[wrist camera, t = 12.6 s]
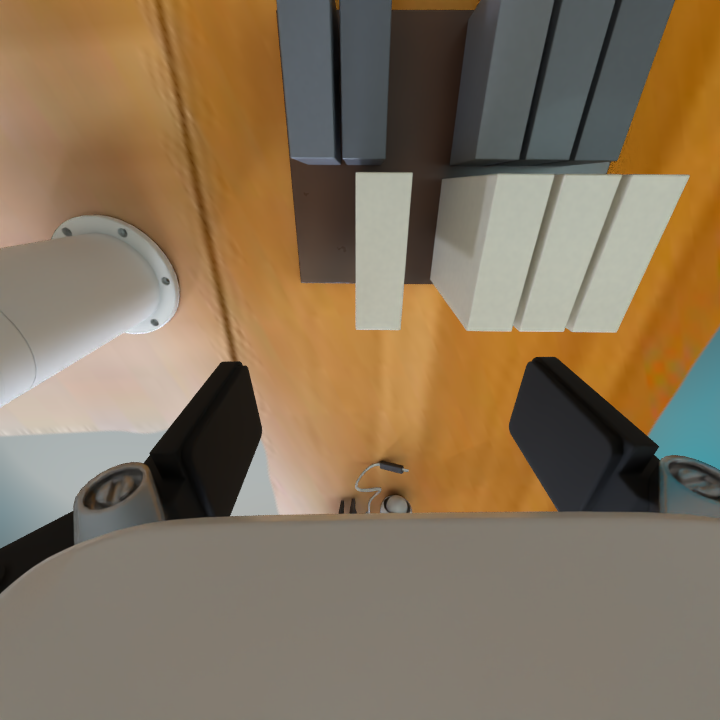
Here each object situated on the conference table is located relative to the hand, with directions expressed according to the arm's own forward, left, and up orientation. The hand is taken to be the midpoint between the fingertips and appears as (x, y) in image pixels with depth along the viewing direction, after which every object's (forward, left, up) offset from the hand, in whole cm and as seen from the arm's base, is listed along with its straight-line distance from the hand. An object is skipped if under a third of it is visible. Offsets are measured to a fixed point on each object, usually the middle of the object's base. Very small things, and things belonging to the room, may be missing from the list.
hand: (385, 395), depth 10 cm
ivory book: (0, +2, -23) cm, 23 cm away
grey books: (+5, +12, -23) cm, 27 cm away
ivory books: (+11, +2, -23) cm, 26 cm away
